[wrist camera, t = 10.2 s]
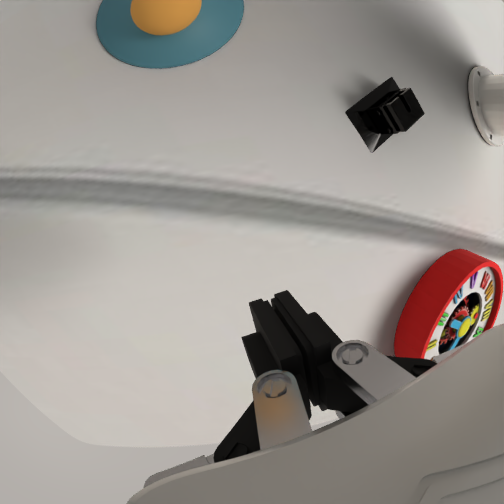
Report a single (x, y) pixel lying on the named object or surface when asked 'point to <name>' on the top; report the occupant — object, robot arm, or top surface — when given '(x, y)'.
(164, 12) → the ball
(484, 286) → the toy clock
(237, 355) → the top surface
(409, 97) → the black boxy piece
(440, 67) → the top surface
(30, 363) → the top surface
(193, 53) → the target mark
